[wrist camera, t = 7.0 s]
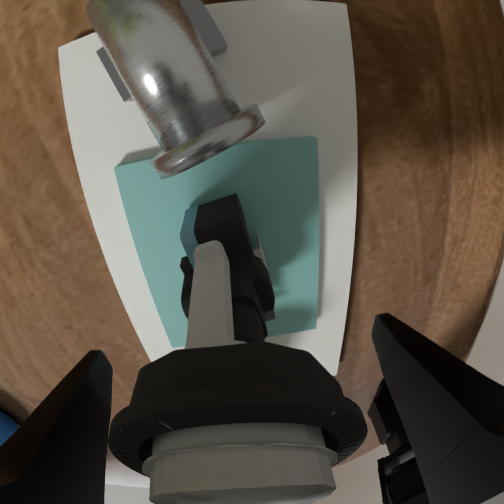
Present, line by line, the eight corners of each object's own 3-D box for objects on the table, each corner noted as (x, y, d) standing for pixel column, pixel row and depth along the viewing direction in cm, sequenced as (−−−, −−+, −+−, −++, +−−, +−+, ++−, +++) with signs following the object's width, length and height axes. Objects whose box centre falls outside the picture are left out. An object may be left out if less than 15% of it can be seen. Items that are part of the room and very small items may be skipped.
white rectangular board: (339, 8, 9) (351, 0, 8) (333, 366, 20) (338, 381, 19) (66, 49, 8) (51, 46, 7) (171, 388, 20) (170, 403, 18)
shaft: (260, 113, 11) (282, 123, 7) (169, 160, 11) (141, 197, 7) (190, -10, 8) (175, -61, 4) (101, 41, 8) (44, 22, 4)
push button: (303, 299, 14) (370, 497, 6) (203, 328, 15) (203, 526, 6) (269, 171, 11) (401, 423, 2) (143, 214, 11) (41, 461, 3)
